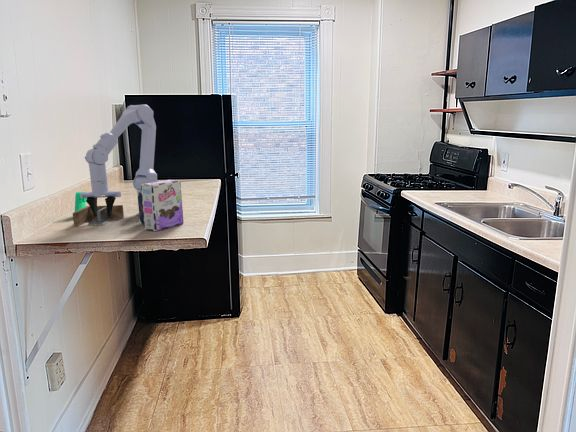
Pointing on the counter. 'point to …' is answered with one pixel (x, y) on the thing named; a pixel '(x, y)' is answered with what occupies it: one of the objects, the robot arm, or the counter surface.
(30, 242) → the counter surface
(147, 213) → the candy box
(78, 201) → the camera mount
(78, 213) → the corner walls
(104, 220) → the bracket
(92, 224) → the pad
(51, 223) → the counter surface
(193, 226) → the counter surface
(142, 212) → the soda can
